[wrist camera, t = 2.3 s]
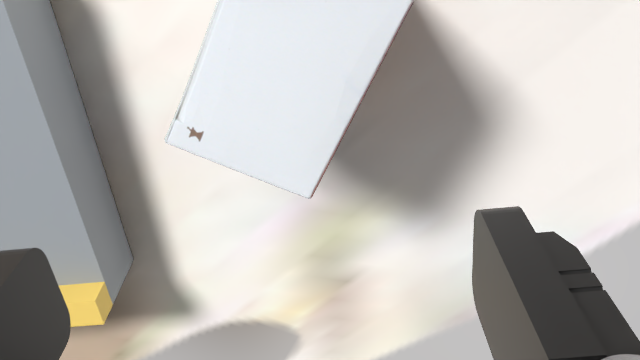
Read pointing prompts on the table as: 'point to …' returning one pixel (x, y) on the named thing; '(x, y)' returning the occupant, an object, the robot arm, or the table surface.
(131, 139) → the table surface
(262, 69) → the small box
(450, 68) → the table surface
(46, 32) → the platform
